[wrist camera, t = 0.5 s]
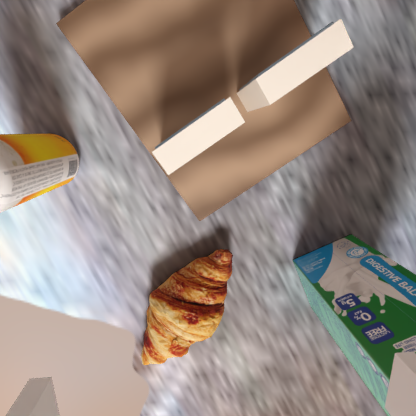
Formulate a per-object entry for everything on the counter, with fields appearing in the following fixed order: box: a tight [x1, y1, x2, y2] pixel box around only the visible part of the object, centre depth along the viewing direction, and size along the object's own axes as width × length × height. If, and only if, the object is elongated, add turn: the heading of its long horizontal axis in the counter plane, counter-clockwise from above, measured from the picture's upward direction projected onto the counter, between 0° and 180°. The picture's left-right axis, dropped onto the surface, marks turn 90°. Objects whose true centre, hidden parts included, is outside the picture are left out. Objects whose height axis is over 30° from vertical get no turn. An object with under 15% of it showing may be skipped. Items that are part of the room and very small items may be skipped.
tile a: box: [237, 19, 353, 112], centre depth 27 cm, size 3×8×9 cm, turn 124°
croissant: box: [141, 249, 233, 365], centre depth 37 cm, size 21×10×8 cm, turn 147°
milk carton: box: [293, 234, 416, 416], centre depth 28 cm, size 9×9×25 cm
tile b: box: [152, 97, 245, 175], centre depth 28 cm, size 3×8×9 cm, turn 124°
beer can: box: [0, 134, 79, 213], centre depth 26 cm, size 6×6×15 cm
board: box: [56, 0, 351, 221], centre depth 31 cm, size 26×22×2 cm
